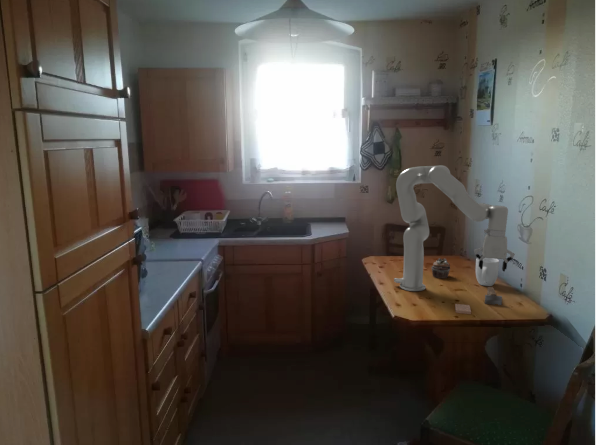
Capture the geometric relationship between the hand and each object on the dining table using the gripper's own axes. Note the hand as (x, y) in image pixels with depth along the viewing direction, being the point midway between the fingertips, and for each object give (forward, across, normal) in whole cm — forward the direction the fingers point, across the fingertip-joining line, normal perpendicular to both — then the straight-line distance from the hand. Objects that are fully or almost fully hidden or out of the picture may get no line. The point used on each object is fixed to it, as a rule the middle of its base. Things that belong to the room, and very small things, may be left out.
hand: (492, 269), depth 216 cm
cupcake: (+16, -21, +34) cm, 43 cm away
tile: (+15, -13, -13) cm, 23 cm away
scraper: (+15, +1, 0) cm, 15 cm away
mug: (+15, +1, +24) cm, 28 cm away
